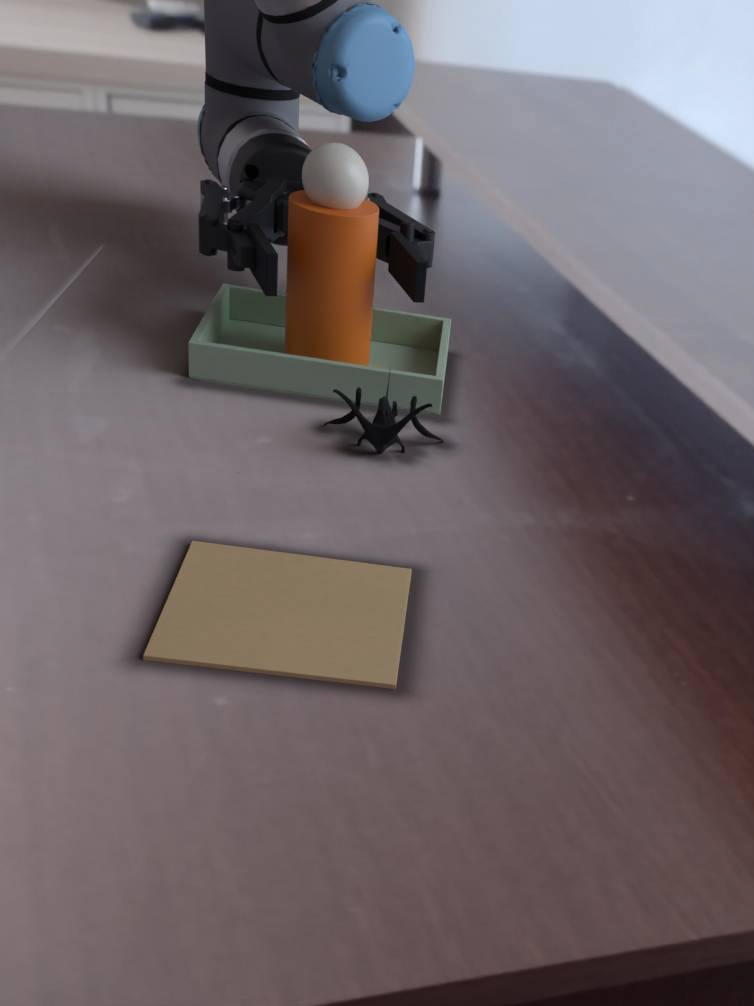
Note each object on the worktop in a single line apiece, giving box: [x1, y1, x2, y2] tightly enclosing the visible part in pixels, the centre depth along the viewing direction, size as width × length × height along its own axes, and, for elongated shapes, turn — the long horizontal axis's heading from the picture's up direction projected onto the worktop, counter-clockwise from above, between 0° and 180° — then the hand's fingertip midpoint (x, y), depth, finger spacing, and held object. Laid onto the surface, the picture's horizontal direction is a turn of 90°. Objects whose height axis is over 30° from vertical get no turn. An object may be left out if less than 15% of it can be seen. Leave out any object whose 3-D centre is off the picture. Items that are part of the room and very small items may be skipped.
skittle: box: [285, 141, 379, 366], centre depth 92 cm, size 6×6×15 cm
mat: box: [142, 540, 413, 690], centre depth 69 cm, size 12×12×1 cm
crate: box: [187, 283, 452, 415], centre depth 95 cm, size 17×13×3 cm
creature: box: [324, 372, 444, 455], centre depth 86 cm, size 8×5×8 cm
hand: (347, 279), depth 88 cm, fingers open, 9 cm apart
